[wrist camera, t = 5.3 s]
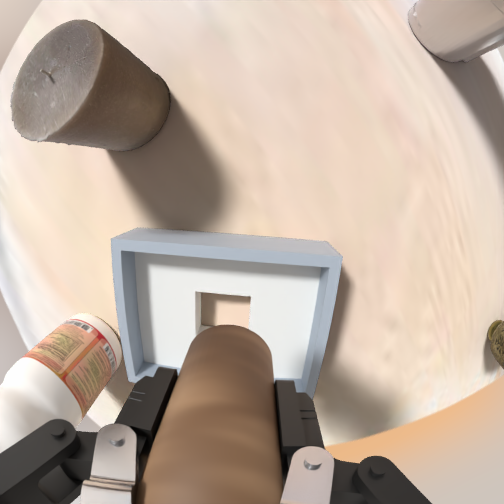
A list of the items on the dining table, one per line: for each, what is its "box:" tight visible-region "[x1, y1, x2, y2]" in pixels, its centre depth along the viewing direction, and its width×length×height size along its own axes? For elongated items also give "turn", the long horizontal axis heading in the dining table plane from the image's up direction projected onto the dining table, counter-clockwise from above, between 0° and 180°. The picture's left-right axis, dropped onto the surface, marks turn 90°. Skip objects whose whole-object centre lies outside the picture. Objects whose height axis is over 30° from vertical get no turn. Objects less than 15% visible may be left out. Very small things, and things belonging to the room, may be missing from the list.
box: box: [111, 228, 343, 400], centre depth 28 cm, size 20×16×6 cm
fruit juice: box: [0, 313, 122, 453], centre depth 19 cm, size 9×9×28 cm
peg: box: [136, 325, 283, 504], centre depth 8 cm, size 4×4×10 cm
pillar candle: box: [11, 20, 170, 151], centre depth 19 cm, size 10×10×15 cm
